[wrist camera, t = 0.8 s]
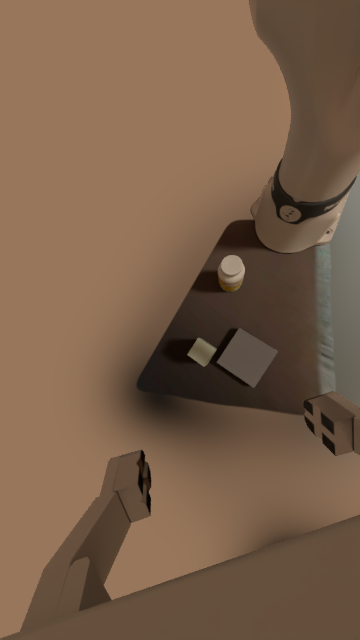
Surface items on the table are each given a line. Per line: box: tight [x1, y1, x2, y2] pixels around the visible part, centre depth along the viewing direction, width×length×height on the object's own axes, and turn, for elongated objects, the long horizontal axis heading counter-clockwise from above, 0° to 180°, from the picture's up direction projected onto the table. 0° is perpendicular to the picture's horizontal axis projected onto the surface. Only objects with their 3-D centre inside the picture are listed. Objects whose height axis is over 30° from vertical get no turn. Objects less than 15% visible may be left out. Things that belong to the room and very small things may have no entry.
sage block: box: [187, 338, 217, 367], centre depth 42 cm, size 4×4×8 cm
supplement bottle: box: [218, 255, 245, 292], centre depth 42 cm, size 5×5×10 cm
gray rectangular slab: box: [217, 328, 278, 388], centre depth 43 cm, size 9×9×2 cm
